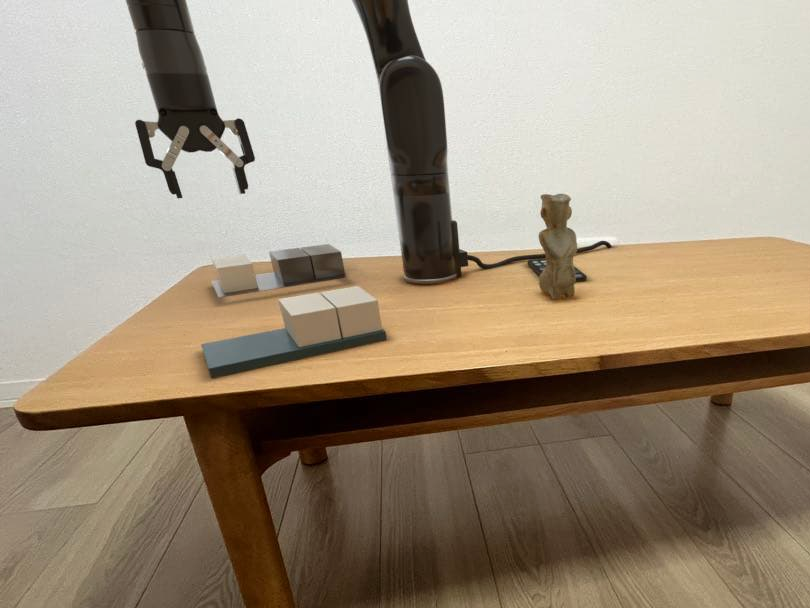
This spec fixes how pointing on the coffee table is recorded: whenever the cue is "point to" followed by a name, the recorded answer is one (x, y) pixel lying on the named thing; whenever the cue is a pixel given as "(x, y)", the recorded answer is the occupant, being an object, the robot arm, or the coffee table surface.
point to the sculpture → (557, 247)
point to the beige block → (235, 273)
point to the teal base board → (302, 332)
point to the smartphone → (540, 264)
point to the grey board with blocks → (296, 269)
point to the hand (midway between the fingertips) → (212, 195)
